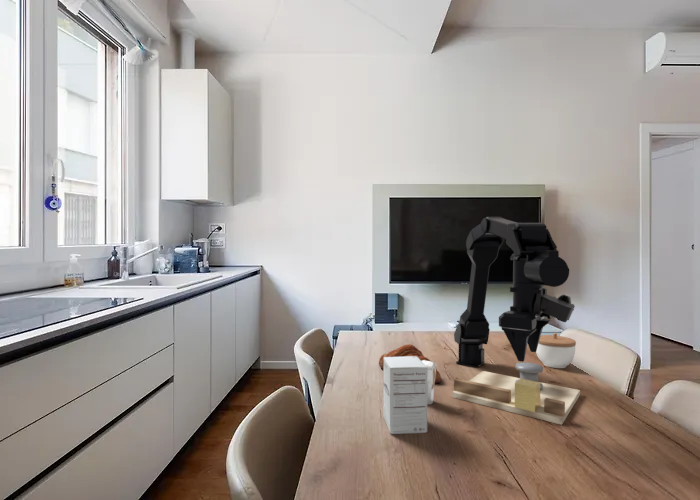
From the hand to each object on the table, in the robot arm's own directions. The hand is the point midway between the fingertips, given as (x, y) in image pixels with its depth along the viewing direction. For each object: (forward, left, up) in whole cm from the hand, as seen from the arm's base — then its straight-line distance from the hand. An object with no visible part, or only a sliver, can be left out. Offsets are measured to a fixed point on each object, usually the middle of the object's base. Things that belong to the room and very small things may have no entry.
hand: (527, 356), depth 84 cm
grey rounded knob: (-3, +13, -11) cm, 17 cm away
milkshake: (-19, -8, -12) cm, 24 cm away
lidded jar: (-3, +41, -12) cm, 42 cm away
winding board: (-5, +8, -12) cm, 15 cm away
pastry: (-33, +7, -12) cm, 36 cm away
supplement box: (-17, -21, -12) cm, 30 cm away
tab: (0, 0, -11) cm, 11 cm away
